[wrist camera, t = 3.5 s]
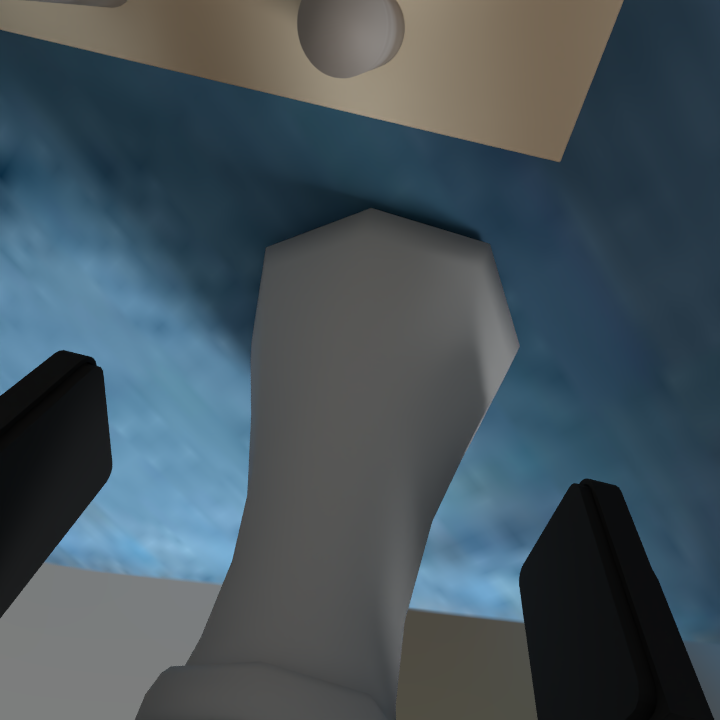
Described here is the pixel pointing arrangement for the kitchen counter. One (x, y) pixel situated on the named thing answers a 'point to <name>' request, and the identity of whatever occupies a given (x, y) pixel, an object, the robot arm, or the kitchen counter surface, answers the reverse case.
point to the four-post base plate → (365, 55)
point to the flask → (344, 466)
